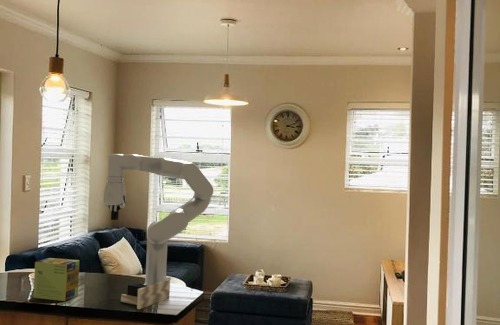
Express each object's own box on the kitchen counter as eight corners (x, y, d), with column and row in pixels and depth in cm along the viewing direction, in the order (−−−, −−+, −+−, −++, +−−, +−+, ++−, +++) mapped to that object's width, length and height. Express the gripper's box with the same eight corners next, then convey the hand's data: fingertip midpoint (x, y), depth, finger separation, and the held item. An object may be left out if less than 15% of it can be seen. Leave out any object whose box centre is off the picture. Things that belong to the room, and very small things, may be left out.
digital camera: (154, 302, 220) (155, 285, 220) (146, 305, 215) (146, 288, 215) (135, 298, 225) (136, 282, 225) (127, 300, 220) (127, 284, 220)
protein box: (65, 301, 215) (67, 264, 215) (32, 298, 218) (34, 261, 218) (78, 295, 226) (80, 260, 226) (47, 292, 229) (48, 257, 229)
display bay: (145, 293, 233) (145, 275, 233) (169, 297, 227) (170, 279, 227) (113, 304, 214) (114, 285, 214) (139, 309, 208) (140, 289, 208)
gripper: (98, 179, 239) (96, 219, 239) (123, 181, 232) (121, 221, 233) (109, 179, 246) (107, 217, 246) (134, 181, 239) (132, 220, 239)
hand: (114, 219), depth 239 cm, fingers closed
